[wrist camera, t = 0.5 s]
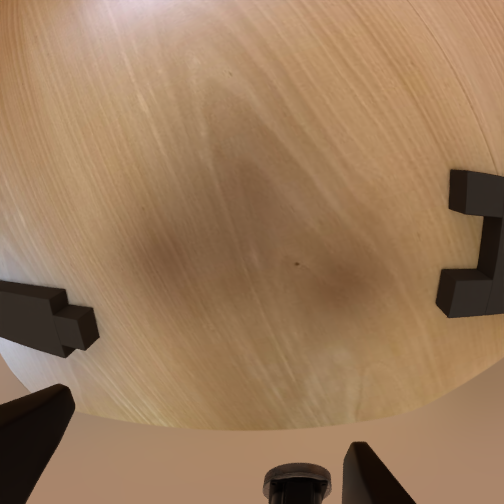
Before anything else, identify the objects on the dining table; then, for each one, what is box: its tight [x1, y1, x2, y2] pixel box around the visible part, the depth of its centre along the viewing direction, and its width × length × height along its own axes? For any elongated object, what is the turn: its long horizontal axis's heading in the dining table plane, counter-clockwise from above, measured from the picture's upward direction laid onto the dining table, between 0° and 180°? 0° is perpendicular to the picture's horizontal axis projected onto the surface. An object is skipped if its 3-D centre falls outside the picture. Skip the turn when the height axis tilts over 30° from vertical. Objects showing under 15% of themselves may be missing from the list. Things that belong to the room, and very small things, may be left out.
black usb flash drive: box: [0, 281, 99, 358], centre depth 24 cm, size 6×15×2 cm, turn 91°
